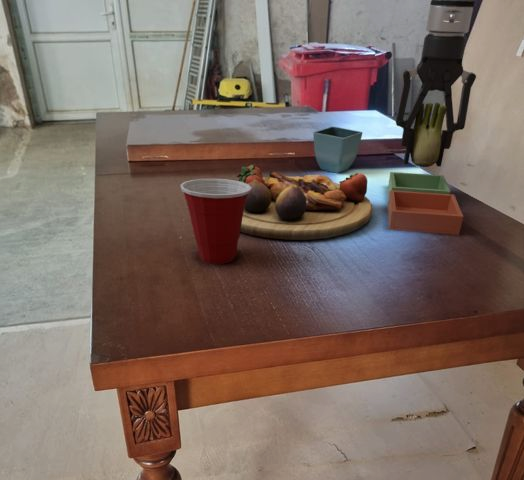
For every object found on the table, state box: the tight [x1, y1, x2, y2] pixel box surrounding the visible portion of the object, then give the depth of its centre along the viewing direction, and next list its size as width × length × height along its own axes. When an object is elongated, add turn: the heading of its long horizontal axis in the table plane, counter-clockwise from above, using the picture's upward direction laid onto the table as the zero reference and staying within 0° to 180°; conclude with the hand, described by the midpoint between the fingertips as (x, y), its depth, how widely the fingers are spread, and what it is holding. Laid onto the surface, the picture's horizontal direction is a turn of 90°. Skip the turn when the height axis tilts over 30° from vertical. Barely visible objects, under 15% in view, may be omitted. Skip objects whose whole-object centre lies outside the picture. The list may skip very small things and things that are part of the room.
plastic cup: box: [179, 178, 252, 265], centre depth 83 cm, size 11×11×12 cm
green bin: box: [387, 171, 451, 195], centre depth 112 cm, size 12×12×4 cm
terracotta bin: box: [386, 190, 464, 236], centre depth 101 cm, size 13×13×4 cm
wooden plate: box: [236, 163, 374, 241], centre depth 102 cm, size 32×32×8 cm
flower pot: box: [312, 126, 363, 174], centre depth 127 cm, size 9×9×9 cm
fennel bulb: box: [410, 102, 447, 168], centre depth 106 cm, size 6×5×12 cm
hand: (421, 163), depth 109 cm, fingers closed on fennel bulb, 6 cm apart
